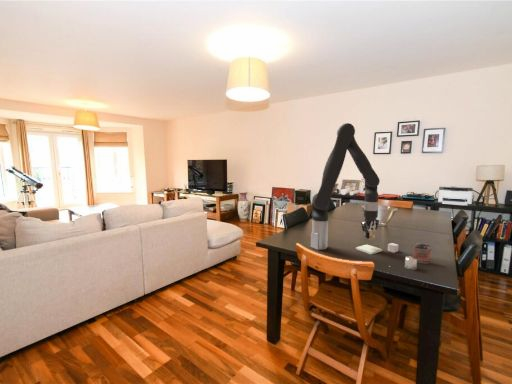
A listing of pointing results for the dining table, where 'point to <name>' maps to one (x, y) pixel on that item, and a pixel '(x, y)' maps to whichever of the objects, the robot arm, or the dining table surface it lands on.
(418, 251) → the lighter
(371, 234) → the beech block
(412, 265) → the metal tin
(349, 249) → the dining table surface
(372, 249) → the plate
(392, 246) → the white block
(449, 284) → the dining table surface
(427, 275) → the dining table surface
